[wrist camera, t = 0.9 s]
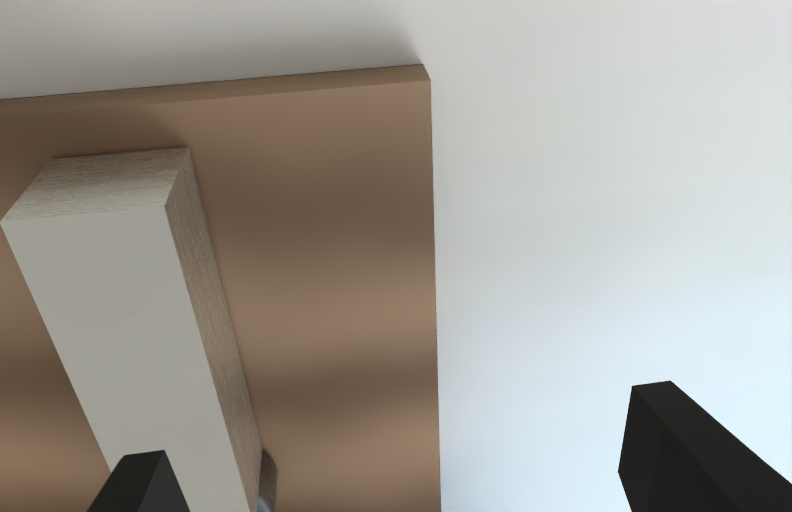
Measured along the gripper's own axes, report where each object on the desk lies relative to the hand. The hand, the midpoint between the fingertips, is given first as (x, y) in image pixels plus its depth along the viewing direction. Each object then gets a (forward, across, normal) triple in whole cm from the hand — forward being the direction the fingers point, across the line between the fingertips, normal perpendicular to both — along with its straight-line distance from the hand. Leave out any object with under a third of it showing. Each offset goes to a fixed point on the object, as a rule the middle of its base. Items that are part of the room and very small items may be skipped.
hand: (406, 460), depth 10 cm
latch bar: (+7, +6, +4) cm, 10 cm away
